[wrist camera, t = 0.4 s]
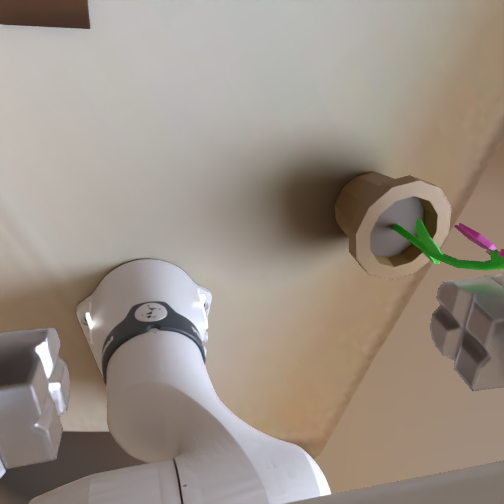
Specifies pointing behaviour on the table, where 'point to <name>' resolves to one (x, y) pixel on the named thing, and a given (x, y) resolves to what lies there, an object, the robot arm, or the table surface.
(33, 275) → the table surface
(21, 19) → the walnut board
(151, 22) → the table surface
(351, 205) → the flowerpot
